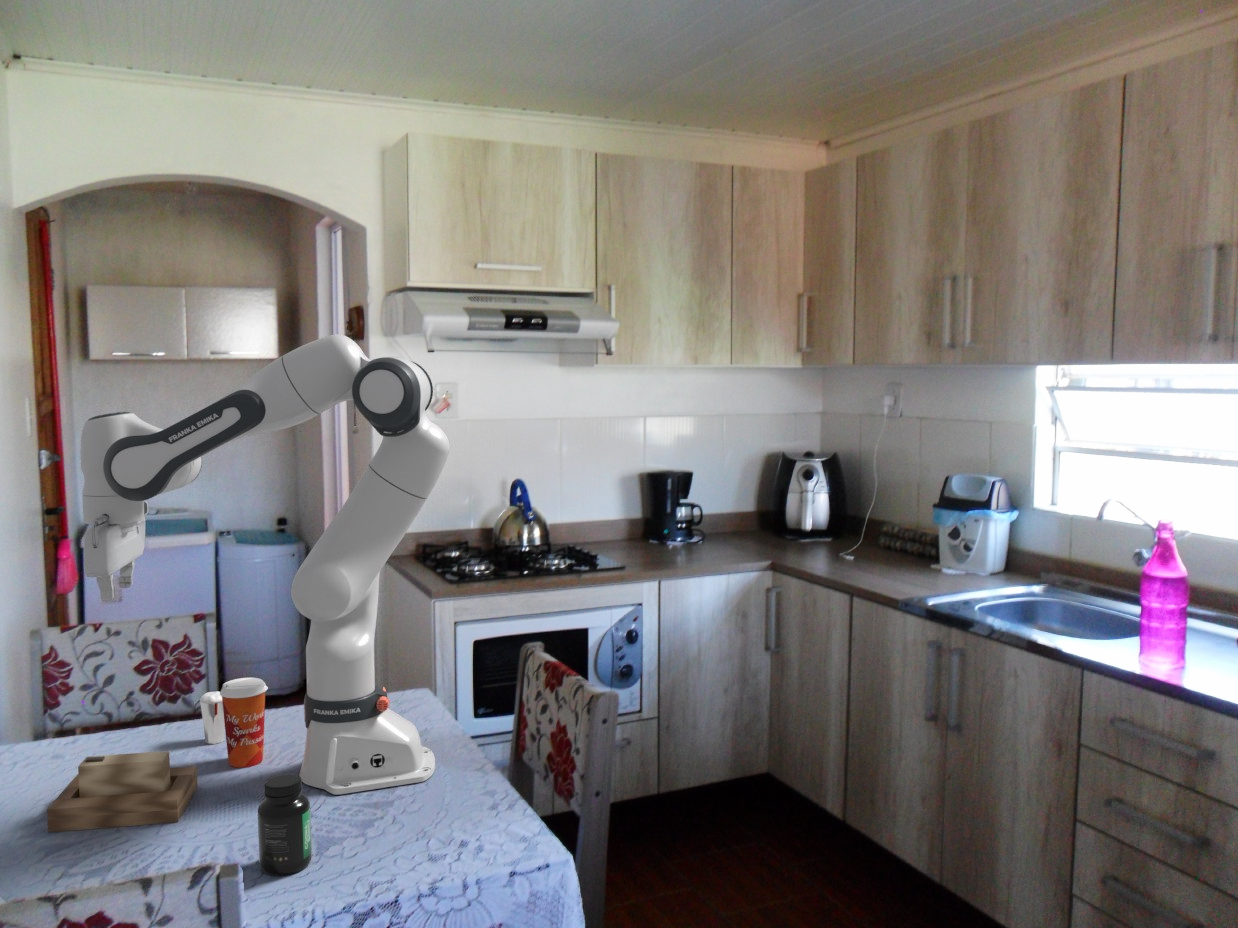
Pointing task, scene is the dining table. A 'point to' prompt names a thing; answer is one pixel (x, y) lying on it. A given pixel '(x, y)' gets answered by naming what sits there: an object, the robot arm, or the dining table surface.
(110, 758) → the door
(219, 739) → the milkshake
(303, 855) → the supplement bottle
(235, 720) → the paper cup
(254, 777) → the dining table surface
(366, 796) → the dining table surface
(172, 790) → the frame
